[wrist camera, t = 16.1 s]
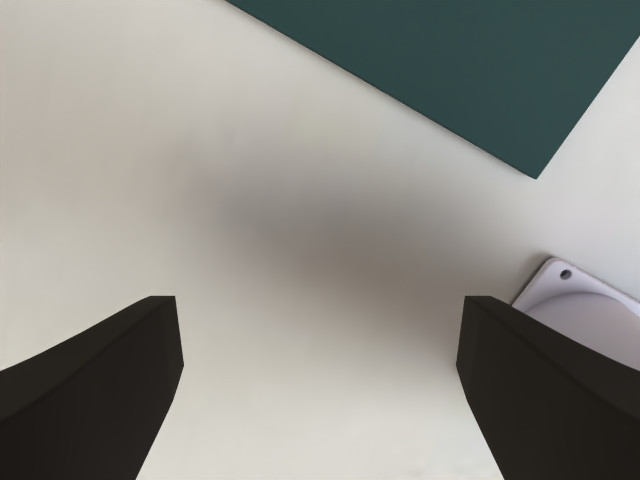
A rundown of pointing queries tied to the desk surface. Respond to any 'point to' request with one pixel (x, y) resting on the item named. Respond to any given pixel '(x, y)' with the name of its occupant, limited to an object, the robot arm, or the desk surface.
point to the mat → (473, 60)
